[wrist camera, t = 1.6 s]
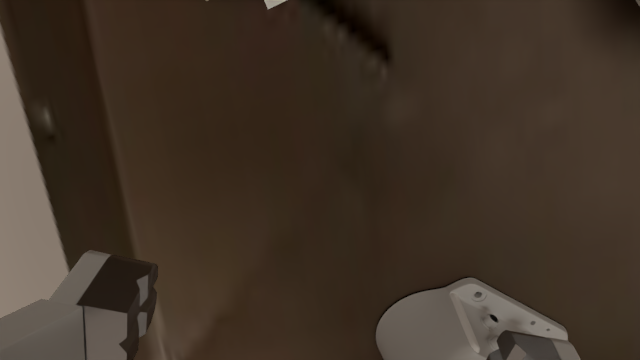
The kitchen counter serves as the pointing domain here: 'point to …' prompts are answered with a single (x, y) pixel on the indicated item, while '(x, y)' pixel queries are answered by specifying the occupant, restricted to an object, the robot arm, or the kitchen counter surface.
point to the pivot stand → (272, 3)
